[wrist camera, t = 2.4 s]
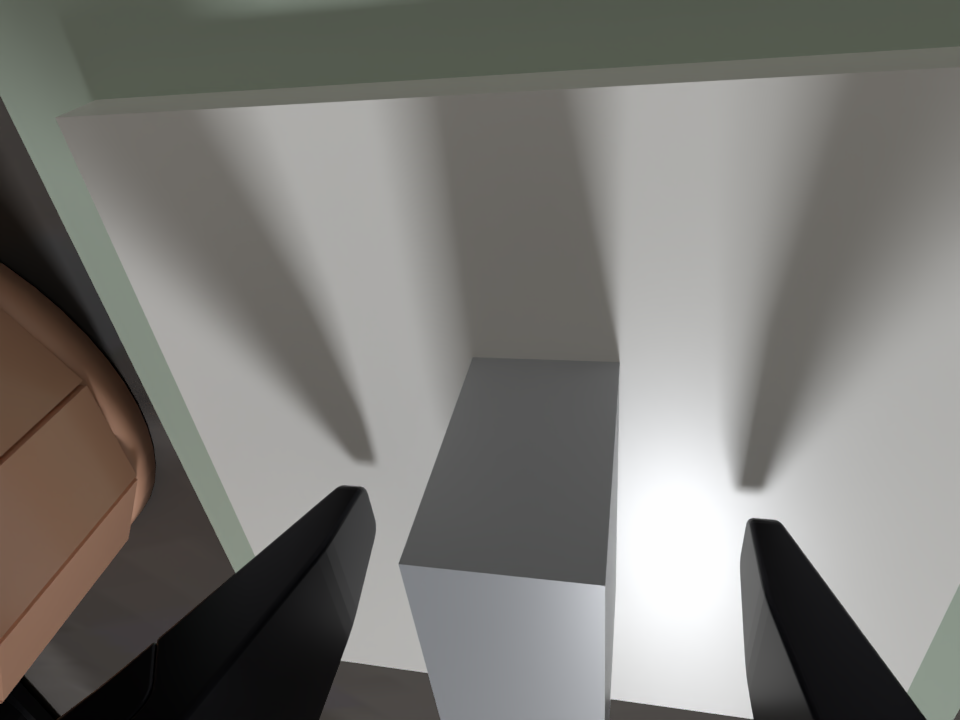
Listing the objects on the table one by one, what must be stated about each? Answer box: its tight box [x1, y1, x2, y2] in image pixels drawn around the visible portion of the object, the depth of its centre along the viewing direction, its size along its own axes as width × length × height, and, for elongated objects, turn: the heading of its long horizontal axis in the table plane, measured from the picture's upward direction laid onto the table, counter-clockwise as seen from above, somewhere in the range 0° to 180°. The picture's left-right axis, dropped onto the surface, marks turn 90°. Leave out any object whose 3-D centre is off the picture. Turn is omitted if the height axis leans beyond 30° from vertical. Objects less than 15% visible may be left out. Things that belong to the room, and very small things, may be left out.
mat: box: [0, 0, 960, 720], centre depth 12 cm, size 15×15×1 cm
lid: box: [55, 46, 960, 720], centre depth 10 cm, size 12×12×4 cm
